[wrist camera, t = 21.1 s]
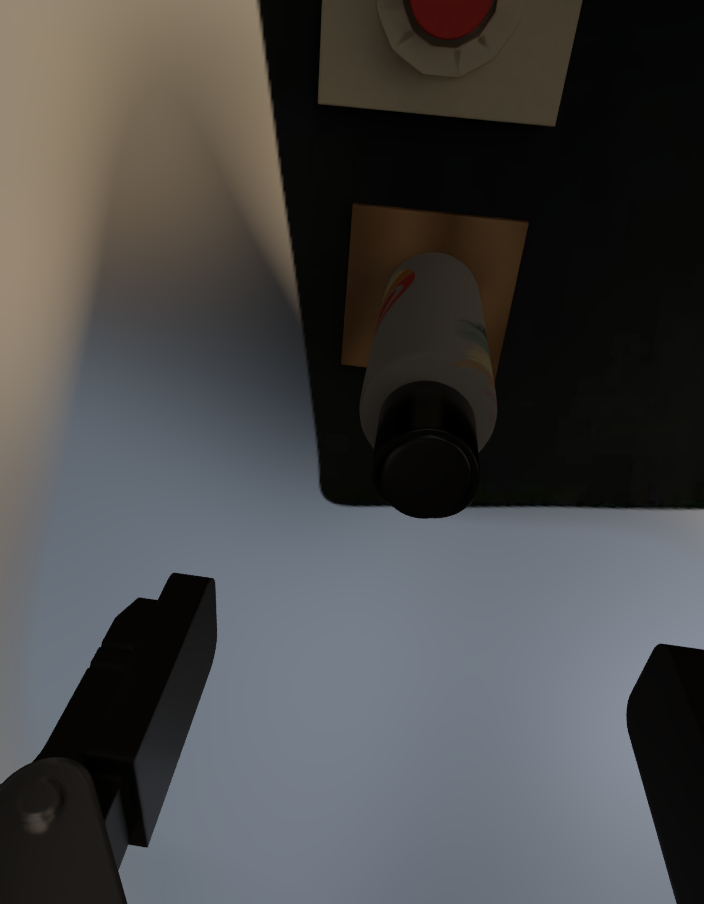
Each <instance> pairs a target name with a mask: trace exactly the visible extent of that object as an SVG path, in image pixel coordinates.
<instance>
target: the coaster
mask: <svg viewBox="0 0 704 904" xmlns="http://www.w3.org/2000/svg"><path fill="white" fill-rule="evenodd" d="M528 224H529V223H528V221H525V220H516V219H506V218H497V217H487V216H478V215H468V214H458V213H449V212H439V211H430V210H420V209H411V208H401V207H392V206H382V205H372V204H363V203H354V204H353V207H352V220H351V234H350V248H349V261H348V275H347V289H346V303H345V316H344V330H343V344H342V357H341V364H343V365H351V366H360V367H367V366H368V362H369V357H370V353H371V349H372V344H373V340H374V336H375V331H376V327H377V323H378V318H379V314H380V310H381V305H382V301H383V297H384V293H385V290H386V287H387V284H388V282H389V279H390V278H391V276H392V274H393V273H394V271H395V270H396V269H397V268H398V267H399V266H400V265H401V264H402V263H403V262H405V261H406V260H408V259H409V258H411V257H413V256H416V255H419V254H422V253H428V252H438V253H444V254H447V255H450V256H453V257H455V258H456V259H458V260H460V261H461V262H462V263H463V264H465V265H466V266H467V267H468V269H469V270H470V271H471V273H472V274H473V276H474V278H475V280H476V282H477V285H478V289H479V293H480V298H481V304H482V311H483V317H484V323H485V329H486V335H487V342H488V348H489V354H490V360H491V366H492V373H493V379H494V382H495V377H496V373H497V368H498V363H499V359H500V354H501V350H502V345H503V340H504V336H505V331H506V326H507V322H508V317H509V312H510V308H511V303H512V298H513V294H514V289H515V285H516V280H517V275H518V271H519V266H520V261H521V257H522V252H523V247H524V243H525V238H526V233H527V229H528Z"/></svg>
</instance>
